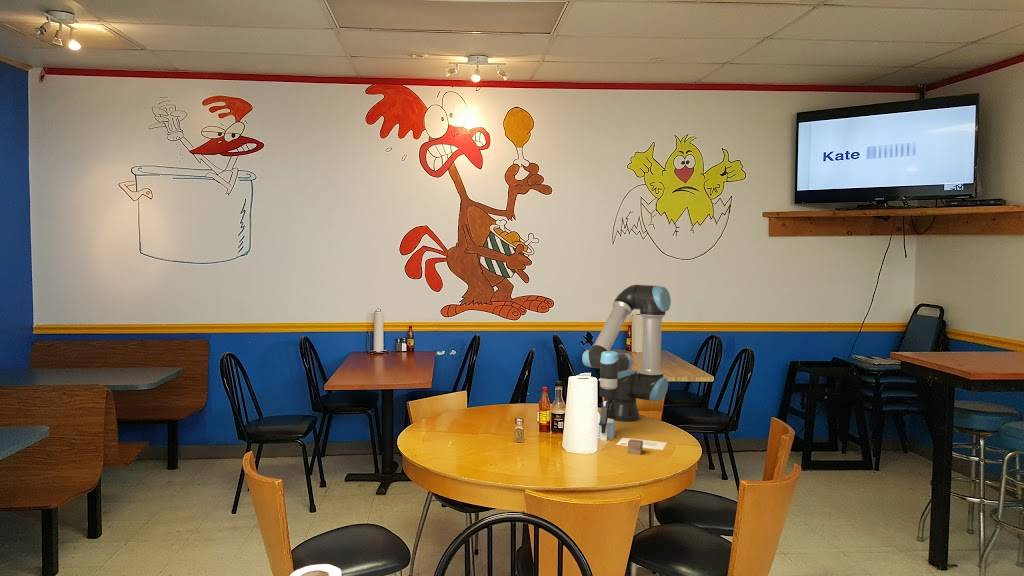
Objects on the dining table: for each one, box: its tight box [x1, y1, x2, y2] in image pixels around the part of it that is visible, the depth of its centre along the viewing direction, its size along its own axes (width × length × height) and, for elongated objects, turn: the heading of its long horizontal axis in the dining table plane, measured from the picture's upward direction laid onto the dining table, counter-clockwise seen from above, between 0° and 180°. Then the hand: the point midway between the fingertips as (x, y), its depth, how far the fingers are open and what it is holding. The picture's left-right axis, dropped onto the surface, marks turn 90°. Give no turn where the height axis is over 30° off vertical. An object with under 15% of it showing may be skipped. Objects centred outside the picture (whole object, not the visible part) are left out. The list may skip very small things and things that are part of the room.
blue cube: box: [598, 422, 616, 440], centre depth 326 cm, size 6×6×6 cm
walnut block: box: [627, 438, 644, 456], centre depth 301 cm, size 5×5×5 cm
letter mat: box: [616, 437, 667, 451], centre depth 316 cm, size 16×22×1 cm
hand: (606, 436), depth 326 cm, fingers open, 12 cm apart
